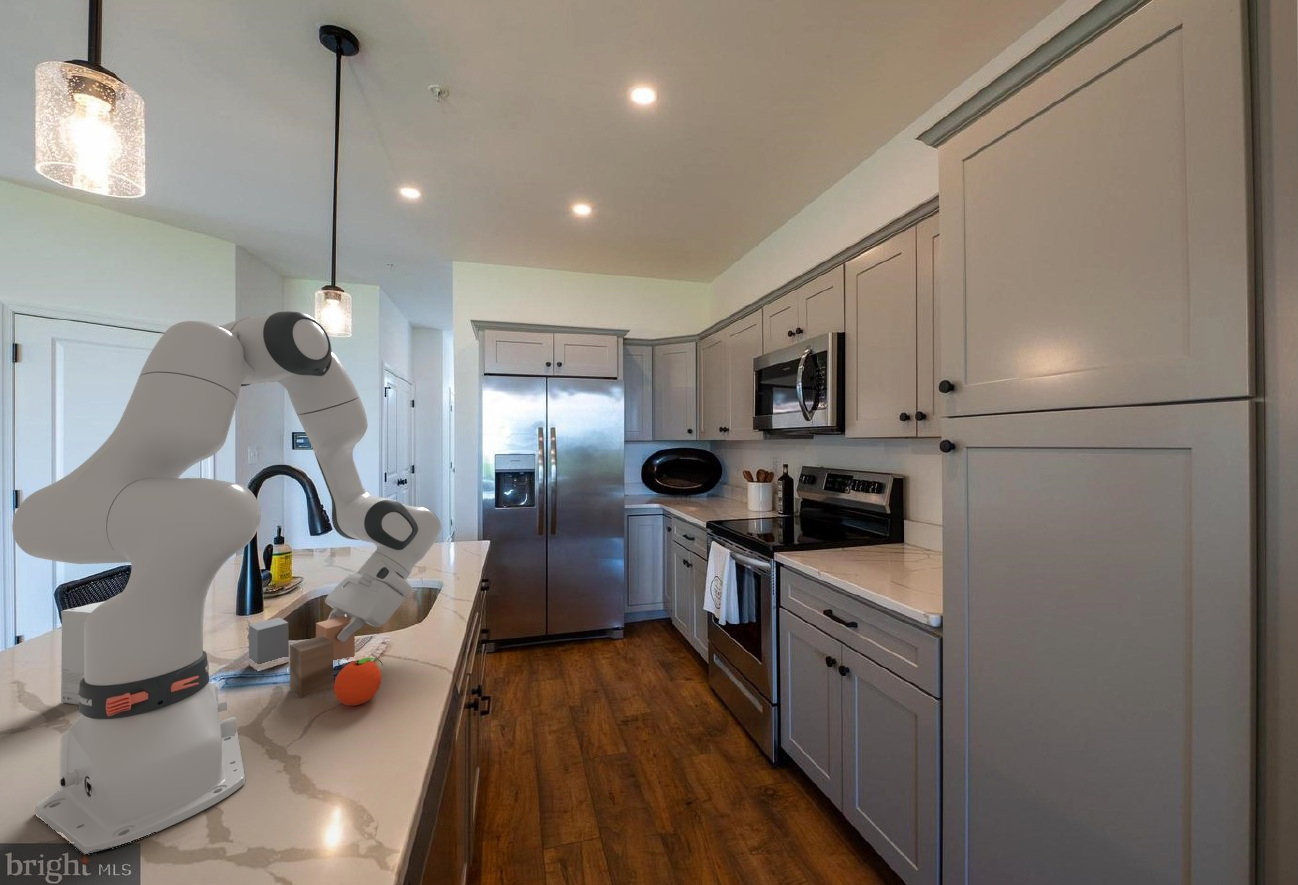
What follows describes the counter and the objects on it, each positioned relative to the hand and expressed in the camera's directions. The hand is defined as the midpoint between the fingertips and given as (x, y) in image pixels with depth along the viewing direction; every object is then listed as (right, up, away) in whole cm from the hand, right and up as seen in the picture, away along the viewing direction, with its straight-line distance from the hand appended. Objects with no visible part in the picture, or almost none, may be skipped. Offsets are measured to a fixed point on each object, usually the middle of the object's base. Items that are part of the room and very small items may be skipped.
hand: (331, 636), depth 98 cm
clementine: (+14, -6, -14) cm, 21 cm away
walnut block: (+3, -5, -10) cm, 12 cm away
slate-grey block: (-12, -5, 0) cm, 14 cm away
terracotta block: (0, -5, +1) cm, 5 cm away
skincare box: (-33, -6, -11) cm, 35 cm away
